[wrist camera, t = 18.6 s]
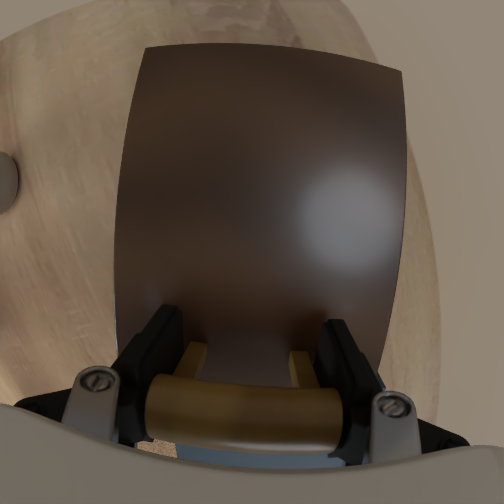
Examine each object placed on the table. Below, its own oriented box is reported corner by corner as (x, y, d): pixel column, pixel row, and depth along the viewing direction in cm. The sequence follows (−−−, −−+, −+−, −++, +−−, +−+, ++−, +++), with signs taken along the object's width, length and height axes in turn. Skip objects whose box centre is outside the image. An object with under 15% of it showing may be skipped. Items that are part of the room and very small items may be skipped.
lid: (363, 395, 12) (410, 479, 6) (125, 375, 12) (64, 449, 6) (395, 77, 11) (460, 12, 5) (150, 55, 11) (97, -22, 5)
